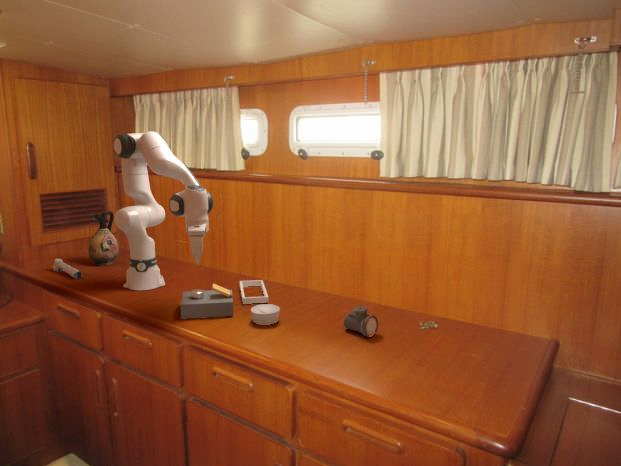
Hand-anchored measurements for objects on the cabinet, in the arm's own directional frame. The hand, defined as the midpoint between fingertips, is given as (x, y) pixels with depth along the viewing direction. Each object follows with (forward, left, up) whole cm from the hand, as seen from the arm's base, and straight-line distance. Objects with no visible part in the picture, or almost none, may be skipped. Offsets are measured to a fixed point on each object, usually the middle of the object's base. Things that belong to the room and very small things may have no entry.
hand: (198, 261), depth 176 cm
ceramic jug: (-83, -54, -21) cm, 101 cm away
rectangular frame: (-17, +23, -21) cm, 36 cm away
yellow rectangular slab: (0, +9, -13) cm, 16 cm away
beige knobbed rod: (-64, -68, -22) cm, 96 cm away
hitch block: (0, +3, -21) cm, 21 cm away
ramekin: (+15, +25, -22) cm, 36 cm away
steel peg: (0, -1, -21) cm, 21 cm away
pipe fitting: (+31, +58, -22) cm, 69 cm away
